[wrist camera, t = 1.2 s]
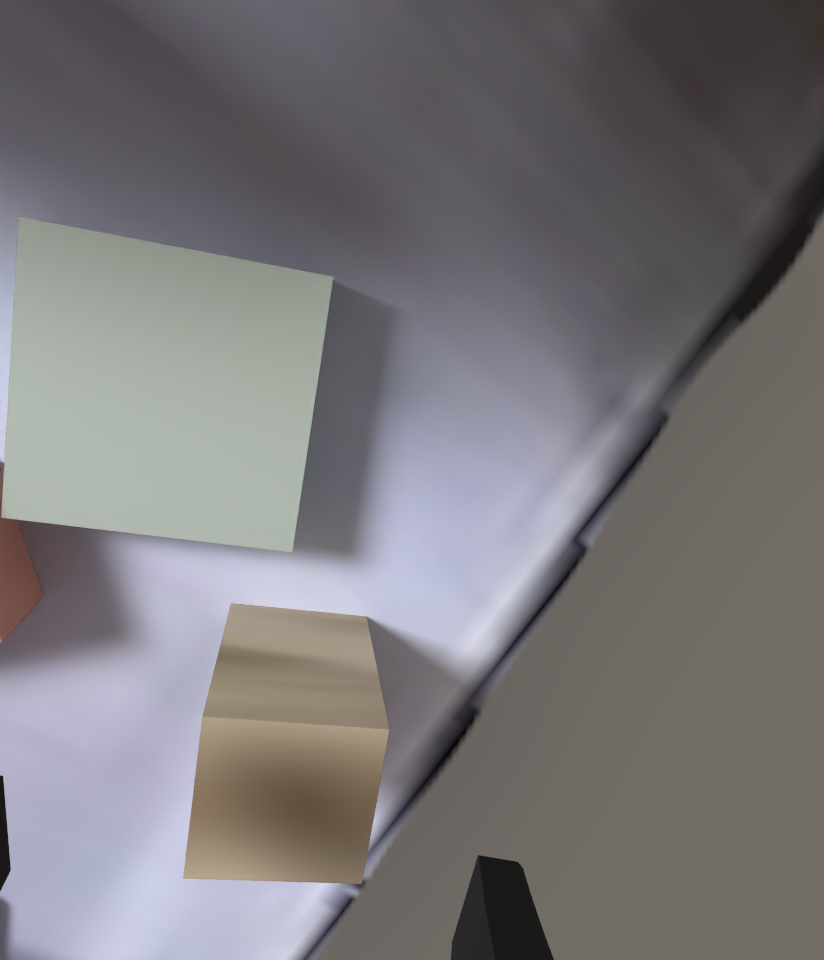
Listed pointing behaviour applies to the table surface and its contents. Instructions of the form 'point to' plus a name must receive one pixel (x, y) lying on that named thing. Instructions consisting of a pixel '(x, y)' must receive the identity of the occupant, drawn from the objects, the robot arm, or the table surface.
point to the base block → (159, 388)
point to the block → (15, 575)
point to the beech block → (288, 750)
